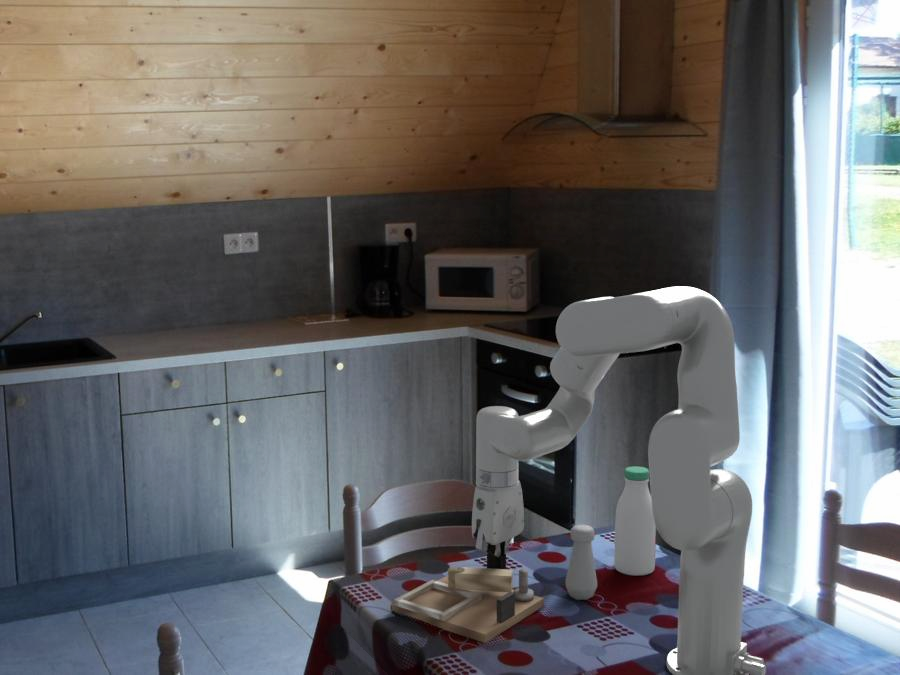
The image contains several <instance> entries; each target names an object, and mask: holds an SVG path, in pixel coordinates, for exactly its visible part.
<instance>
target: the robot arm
mask: <svg viewBox="0 0 900 675" xmlns="http://www.w3.org/2000/svg"><path fill="white" fill-rule="evenodd" d="M734 334H735V333H734V328H733V324H732V320H731V318H730V316H729V314H728V312H727V311H726V309H725V307H724V306H723V304H722V303H721V302H720V301H719V300H718V299H717V298H716V297H714V296H713V295H711V294H710V293H709V292H707V291H704V290H703V289H702V290H701V289H700V288H697V287H692V286H683V285H682V286H679V285H677V286H670V287H664V288H660V289H655V290H650V291H644V292H643V291H642V292H638V293H633V294H628V295H622V296H615V297H614V296H601V297H595V298H590V299H584V300H579V301H575V302H573V303H570V304H569V305H567V306H566V307H565V308H564V309H563V310H562V311H561V312H560V315H559V316H558V318H557V321H556V325H555V336H556V339H557V340H556V341H557V343H558V345H559V346H560V347H559V349H558V350H557V352H556V354H555V355H554V357H553V358H552V360H551V361H550V363H549V364H550V366H549V370H550V375H551V377H552V378H553V379H554V380H555V381H554V382H556V383H557V384H558V385H559V389H558V391H557V392H556V394H555V395H554V397H553V398H552V399H551V401H550V402H549V403H548V405H547V406H546V407H545V408H542V409H540V410H537V411H533V412H530V413H527V414H524V415H523V414H522V415H519V413H518V412H517V410H516V409H514V408H512V407H508V406H503V405H500V406H499V405H493V406H486V407H483V408H481V409H480V410H478V412H477V414H476V419H475V421H476V424H475V426H476V428H475V429H476V432H475V434H476V437H475V438H476V440H475V441H476V442H475V444H476V445H475V446H476V448H475V450H476V451H475V455H476V456H475V457H476V458H475V463H476V464H475V467H476V468H475V485H476V486H475V489H474V494H473V502H472V510H471V511H472V513H471V514H472V515H471V536H472V539H473V540H474V541H476V544H475V549H476V550H477V551H481V552H484V553H485V554H486V568H490V569H507V553H508V552H509V547H510V542H511V540H513V538H515V537H516V536H519V535H520V534H521V533H522V532H523V531H524V526H525V522H524V521H525V518H524V516H525V515H524V514H525V513H524V499H523V497H524V496H523V491H522V490H523V489H522V485H521V481H520V480H519V462H528V461H531V460H534V459H537V458H541V457H542V456H545V455H547V454H550V453H553V452H557V451H560V450H562V449H563V448H565V447H566V446H568V445H569V444H571V442H572V441H573V440H574V438H575V437H576V436H577V435H578V433H579V432H580V430H581V429H582V428H583V426H584V425H585V424H586V422H587V420H588V419H589V417H590V415H591V413H592V411H593V408H594V403H595V398H596V397H595V396H596V395H595V394H596V393H595V390H596V389H597V387H598V386H599V385H600V383H601V382H602V380H603V378H604V377H605V375H606V374H607V373H608V371H609V370H610V368H611V367H612V365H614V363H615V362H616V360H617V358H618V357H619V356H620V354H629V353H637V352H638V353H639V352H646V351H650V350H655V349H659V348H663V347H667V346H670V345H673V344H680V345H681V354H680V357H679V362H678V366H677V377H676V378H677V389H678V406H677V409H674V410H672V411H669V412H668V413H666V414H664V415H663V416H661V417H660V418H659V419H658V420H657V421H656V422H655V424H654V426H653V427H652V429H651V432H650V435H649V440H648V450H647V454H648V470H649V484H650V495H651V501H652V512H653V518H654V522H655V525H656V531H657V532H658V534H659V535H660V537H661V539H662V540H664V542H666V544H668V545H669V546H670V547H671V548H674V549H676V550H679V551H680V552H681V553H680V559H679V560H680V562H679V579H678V580H679V583H678V610H677V611H678V612H677V613H678V614H677V617H678V618H677V642H676V644H677V645H676V648H674V649H672V650H671V651H669V653H668V654H667V656H666V667H667V670H668V671H669V672H670V673H671V675H749V674H750V675H766V673H767V666H766V665H765V664H764V662H765V659H764V658H763V657H760V656H759V657H758V656H753V655H751V654H750V653H749V652H747V651H748V644H747V643H746V642H744V641H742V627H743V625H742V624H743V620H742V619H743V601H744V600H743V599H744V598H743V597H744V580H745V579H744V577H745V565H746V563H745V562H746V551H747V543H748V538H749V537H748V536H749V532H750V526H751V522H752V517H753V516H752V515H753V499H752V494H751V491H750V488H749V487H748V485H747V483H746V482H745V481H744V480H743V478H742V477H741V476H739V475H738V474H737V473H735V472H733V471H730V470H726V469H722V468H721V469H720V468H717V469H711V467H714V466H716V465H718V464H720V463H722V462H724V461H726V460H727V459H729V458H731V456H733V455H734V454H735V452H736V451H737V450H738V449H739V446H740V440H741V439H740V438H741V434H740V420H739V419H740V418H739V403H738V389H737V388H738V386H737V377H736V356H735V355H736V352H735V351H736V350H735V349H736V348H735V344H736V343H735V335H734Z"/></svg>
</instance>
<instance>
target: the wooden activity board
mask: <svg viewBox="0 0 900 675" xmlns="http://www.w3.org/2000/svg"><path fill="white" fill-rule="evenodd" d="M544 603H545V598H544V597H541V596H538V595H536V594H535V595H534V590H533V589H531V588H529V570H528V569H524V568H523V569H519V570H518V587H517V588H515V589H513V588H512V592H495V591H478V590H461V589H451V588H449V587H448V574H447V575H446V576H443V577H442V578H440V579H438V580H434V579H431V580H428V582H425V583H423V584H421V585H419V586H418V587H416V588H413V589H412V590H410V591H408V592H406V593H404V594H402V595H400V596H398V597H396V598H394V599H393V603H392V604H391V611H392V610H393V611H396V612H399V613H402V614H405V615H408V616H411V617H413V618H416V619H419V620H422V621H424V622H426V623H429V624H431V625H430V626H432V625H434V626H433V627H435V626H437V627H436V628H438V627H439V628H438V629H441V628H442V629H441V630H444V631H447V632H450V633H454V634H457V635H460V636H462V637H466V638H469V639H471V640H476V641H478V642H481V643H484V644H486V643H488V642H489V641H491V640H492V639H494V638H496V637H497V636H499V635H500V634H501V633H503V632H505V631H507V630H508V629H510V628H512V627H513V626H515V625H516V624H518V623H519V622H521V621H522V620H524V619H526V618H527V617H529V616H531V615H533V613H535V612H537V611H539V610H540V609H542V608H543V607H544V606H545V605H544ZM426 623H425V624H426ZM429 624H428V625H429Z"/></svg>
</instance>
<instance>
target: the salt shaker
mask: <svg viewBox="0 0 900 675" xmlns="http://www.w3.org/2000/svg"><path fill="white" fill-rule="evenodd" d="M595 535H596V534H595V529H594V528H593V527H592V526H591V525H586V524H577V525H576V524H575V525H574V526H573V527H572V528H570V539H571V540H572V541H573V545H572V550H571V554H570V555H571V556H570V559H569V563H568V568H567V573H566V577H565V588H566V590H567V592H568V595H569V597H571V598H573V599H575V600H584V601H587V600H589V599H591V598H593V597H594V594H595V592H596V590H597V588H598V579H597V574H596V571H597V570H596V567H595V559H594V553H593V552H594V551H593V546H592V545H593V544H592V542H593V541H594V540H595Z"/></svg>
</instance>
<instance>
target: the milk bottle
mask: <svg viewBox="0 0 900 675" xmlns="http://www.w3.org/2000/svg"><path fill="white" fill-rule="evenodd" d="M624 481H625V485H624V488H623V491H622V493H621V495H620V497H619V499H618V502H617V504H616V510H615V518H614V519H615V520H614V522H615V523H614V524H615V525H614V561H613V562H614V564H613V565H614V568H615V570H616V571H617V572H619V573H622V574H624V575H627V576H638V577H639V576H646V575H649V574H652V573H653V572H654V571H655V567H656V543H657V542H656V540H657V535H656V534H657V528H656V525H655V522H654V518H653V512H652V501H651V492H650V489H649V486H648V483H649V482H650V473H649V468H646V467H645V466H635V465H633V466H628V467H625V469H624Z"/></svg>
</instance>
